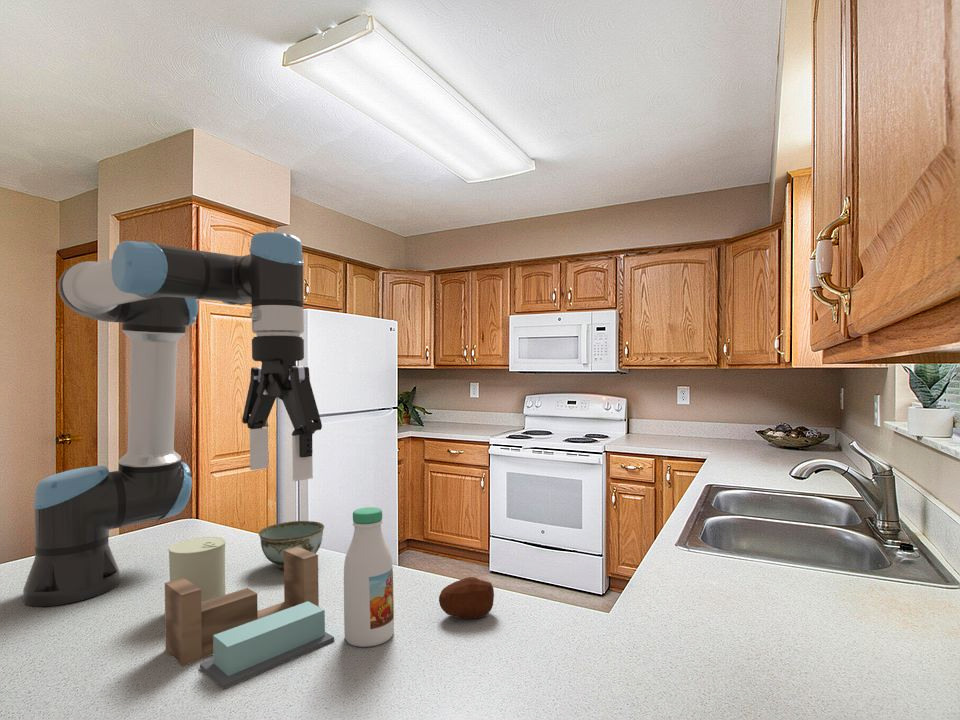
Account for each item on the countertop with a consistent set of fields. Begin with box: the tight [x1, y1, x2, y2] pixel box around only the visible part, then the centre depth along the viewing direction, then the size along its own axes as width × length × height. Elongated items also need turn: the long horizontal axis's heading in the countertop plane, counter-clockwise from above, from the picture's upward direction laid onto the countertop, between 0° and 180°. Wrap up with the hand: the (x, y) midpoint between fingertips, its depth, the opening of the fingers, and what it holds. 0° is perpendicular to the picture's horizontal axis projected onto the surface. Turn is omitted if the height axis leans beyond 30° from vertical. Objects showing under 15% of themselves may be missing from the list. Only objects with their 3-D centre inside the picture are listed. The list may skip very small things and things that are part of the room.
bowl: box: [258, 520, 325, 571], centre depth 119 cm, size 14×13×8 cm
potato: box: [438, 576, 495, 620], centre depth 93 cm, size 7×9×6 cm
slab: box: [212, 601, 326, 676], centre depth 82 cm, size 5×15×4 cm, turn 137°
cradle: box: [164, 546, 320, 667], centre depth 90 cm, size 7×22×10 cm, turn 137°
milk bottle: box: [343, 506, 395, 648], centre depth 87 cm, size 8×8×20 cm
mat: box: [199, 631, 335, 690], centre depth 82 cm, size 8×17×1 cm, turn 137°
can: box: [168, 536, 227, 602], centre depth 98 cm, size 9×9×12 cm
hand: (279, 474), depth 84 cm, fingers open, 13 cm apart
